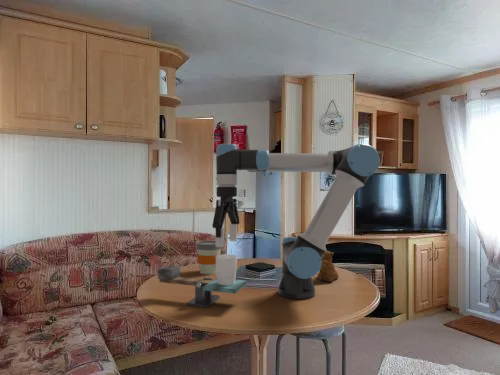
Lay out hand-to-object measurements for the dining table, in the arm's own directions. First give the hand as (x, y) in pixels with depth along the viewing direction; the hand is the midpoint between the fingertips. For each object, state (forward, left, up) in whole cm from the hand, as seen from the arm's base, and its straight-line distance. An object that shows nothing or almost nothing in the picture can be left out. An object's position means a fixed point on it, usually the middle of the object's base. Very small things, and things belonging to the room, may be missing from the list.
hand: (226, 243), depth 132 cm
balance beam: (+11, 0, -16) cm, 19 cm away
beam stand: (+9, 0, -22) cm, 24 cm away
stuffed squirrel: (-31, -49, -23) cm, 62 cm away
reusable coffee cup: (+27, -43, -23) cm, 56 cm away
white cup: (0, 0, -15) cm, 15 cm away
